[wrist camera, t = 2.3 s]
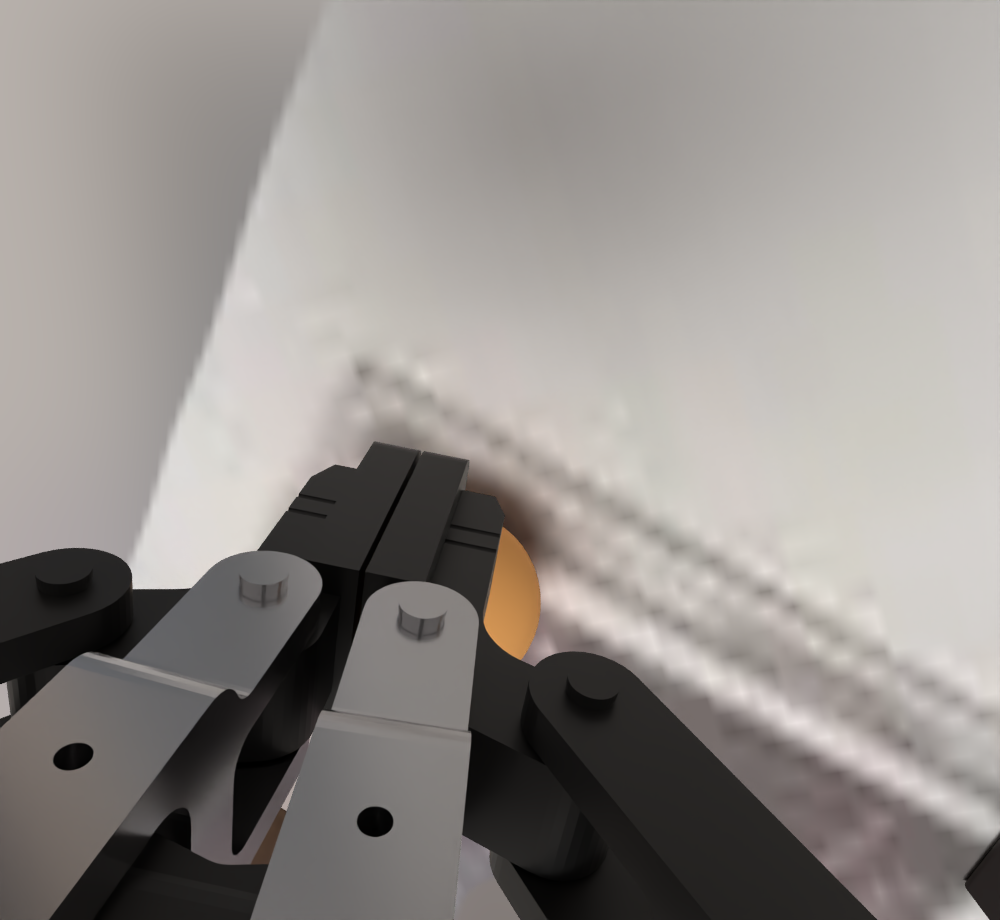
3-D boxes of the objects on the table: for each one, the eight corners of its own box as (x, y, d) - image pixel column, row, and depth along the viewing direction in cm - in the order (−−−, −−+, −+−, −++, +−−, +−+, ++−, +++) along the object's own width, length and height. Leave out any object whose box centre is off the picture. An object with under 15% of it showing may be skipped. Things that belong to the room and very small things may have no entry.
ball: (390, 462, 28) (339, 553, 23) (561, 497, 28) (551, 597, 23) (373, 603, 31) (324, 715, 25) (529, 636, 31) (513, 756, 25)
